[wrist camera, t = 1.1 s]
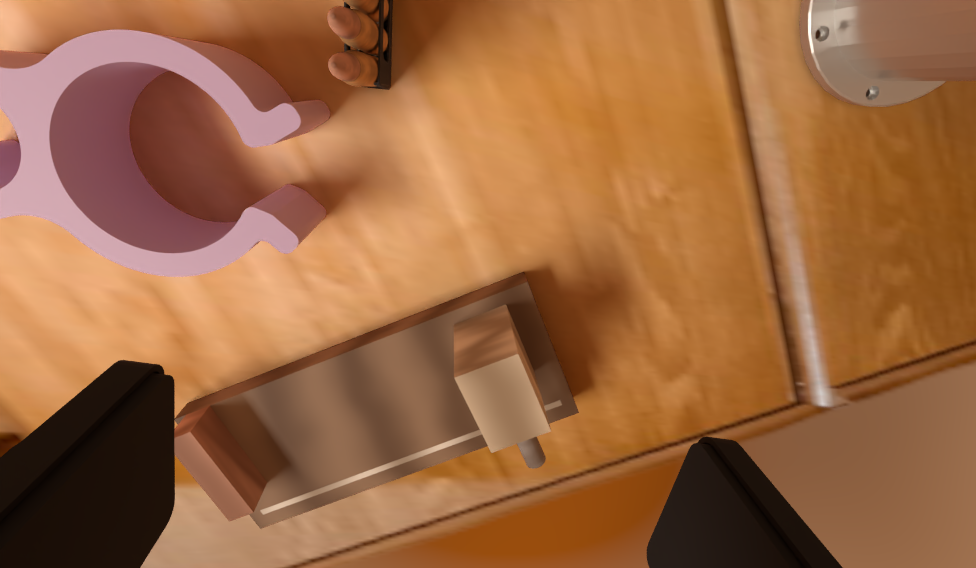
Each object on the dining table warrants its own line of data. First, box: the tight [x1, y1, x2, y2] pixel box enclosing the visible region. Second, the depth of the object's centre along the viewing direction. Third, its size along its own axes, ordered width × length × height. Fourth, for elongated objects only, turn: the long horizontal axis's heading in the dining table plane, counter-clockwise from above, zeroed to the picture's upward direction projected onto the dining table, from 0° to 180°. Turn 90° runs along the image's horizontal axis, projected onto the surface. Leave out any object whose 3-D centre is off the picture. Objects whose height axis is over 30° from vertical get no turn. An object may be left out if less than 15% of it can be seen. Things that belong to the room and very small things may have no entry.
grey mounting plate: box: [174, 272, 579, 529], centre depth 38 cm, size 28×12×5 cm, turn 111°
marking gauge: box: [454, 304, 551, 468], centre depth 34 cm, size 4×10×7 cm, turn 22°
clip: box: [0, 30, 330, 277], centre depth 29 cm, size 20×12×7 cm, turn 81°
